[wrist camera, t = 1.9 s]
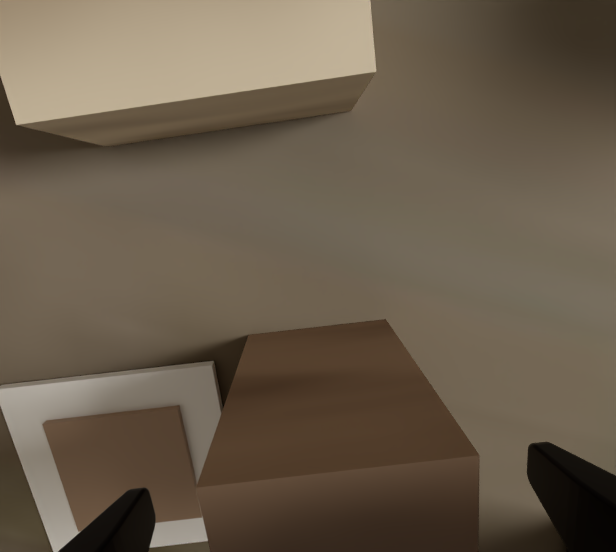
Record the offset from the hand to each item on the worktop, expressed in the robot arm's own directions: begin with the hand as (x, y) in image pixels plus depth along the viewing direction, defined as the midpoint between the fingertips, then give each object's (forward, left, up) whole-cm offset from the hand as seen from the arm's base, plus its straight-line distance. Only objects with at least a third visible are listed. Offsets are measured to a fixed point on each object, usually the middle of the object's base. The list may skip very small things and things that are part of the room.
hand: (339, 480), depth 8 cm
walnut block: (0, 0, -4) cm, 4 cm away
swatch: (-2, +7, -4) cm, 8 cm away
